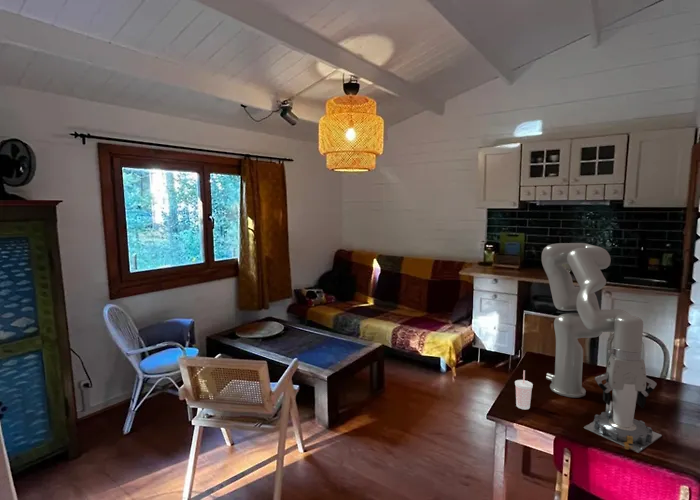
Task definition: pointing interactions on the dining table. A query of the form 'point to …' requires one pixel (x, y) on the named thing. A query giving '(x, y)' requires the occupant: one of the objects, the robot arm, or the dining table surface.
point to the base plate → (635, 446)
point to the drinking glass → (624, 405)
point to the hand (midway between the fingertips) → (623, 404)
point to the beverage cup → (523, 393)
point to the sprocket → (622, 428)
